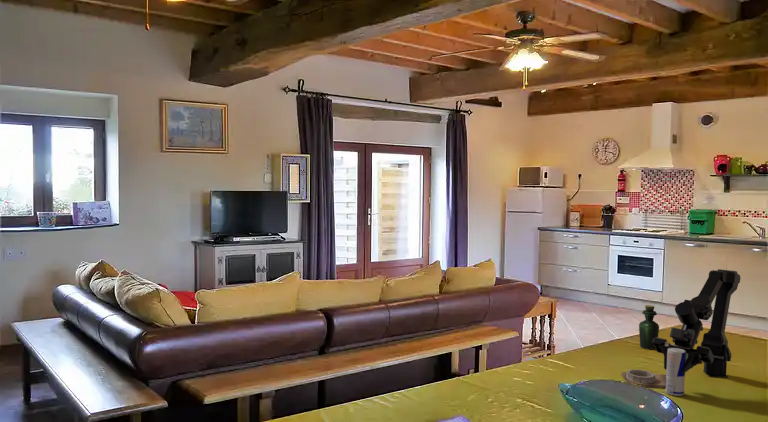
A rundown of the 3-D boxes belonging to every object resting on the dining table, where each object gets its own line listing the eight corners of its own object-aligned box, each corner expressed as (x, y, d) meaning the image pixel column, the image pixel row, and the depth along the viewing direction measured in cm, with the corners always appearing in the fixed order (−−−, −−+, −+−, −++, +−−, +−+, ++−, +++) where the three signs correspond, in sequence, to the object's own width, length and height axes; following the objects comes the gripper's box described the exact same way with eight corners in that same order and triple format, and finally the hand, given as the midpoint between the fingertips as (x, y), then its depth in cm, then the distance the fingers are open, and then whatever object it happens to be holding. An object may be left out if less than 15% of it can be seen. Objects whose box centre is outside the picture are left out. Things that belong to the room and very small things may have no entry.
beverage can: (681, 398, 207) (683, 352, 206) (663, 394, 210) (665, 349, 210) (685, 393, 212) (687, 349, 211) (667, 389, 215) (669, 346, 214)
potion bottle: (646, 350, 265) (648, 308, 264) (633, 345, 273) (635, 304, 272) (662, 349, 267) (664, 307, 267) (649, 344, 275) (651, 303, 274)
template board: (666, 377, 229) (667, 369, 229) (678, 389, 216) (679, 380, 216) (621, 374, 231) (621, 366, 231) (630, 386, 218) (630, 377, 218)
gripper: (655, 314, 219) (639, 350, 213) (711, 323, 205) (696, 363, 199) (665, 333, 225) (649, 369, 218) (720, 343, 211) (705, 383, 204)
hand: (673, 370), depth 210 cm, fingers closed on beverage can, 5 cm apart
